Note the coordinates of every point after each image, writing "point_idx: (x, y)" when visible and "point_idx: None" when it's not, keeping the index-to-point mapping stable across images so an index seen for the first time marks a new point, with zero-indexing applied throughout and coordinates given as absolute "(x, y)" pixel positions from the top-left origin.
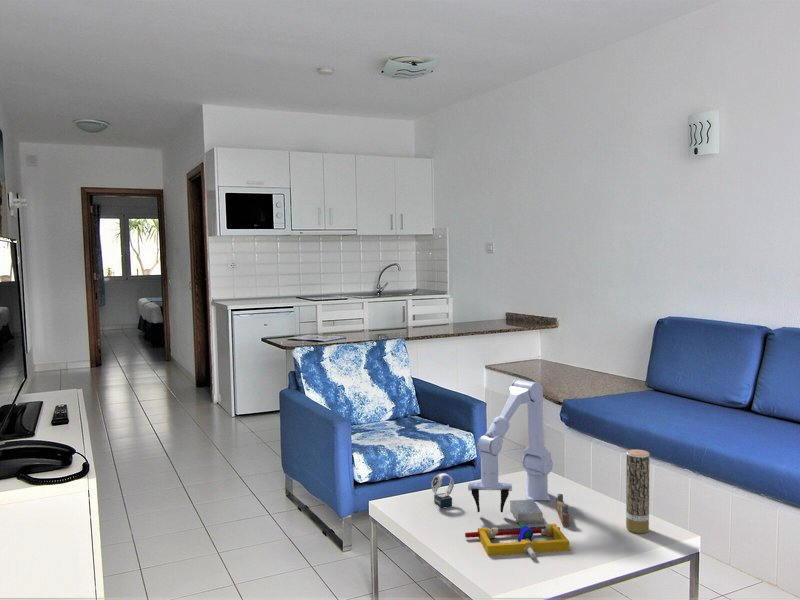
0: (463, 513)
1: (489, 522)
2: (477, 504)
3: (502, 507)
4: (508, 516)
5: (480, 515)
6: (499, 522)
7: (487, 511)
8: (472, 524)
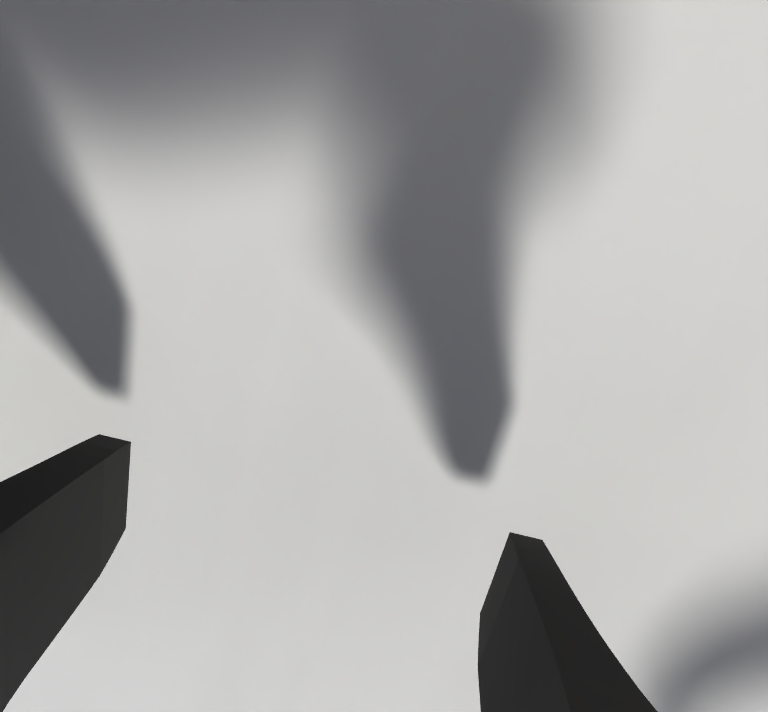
0: (692, 651)
1: (399, 259)
2: (586, 642)
3: (43, 473)
4: (49, 422)
5: (464, 541)
6: (224, 225)
7: (324, 633)
8: (744, 230)
